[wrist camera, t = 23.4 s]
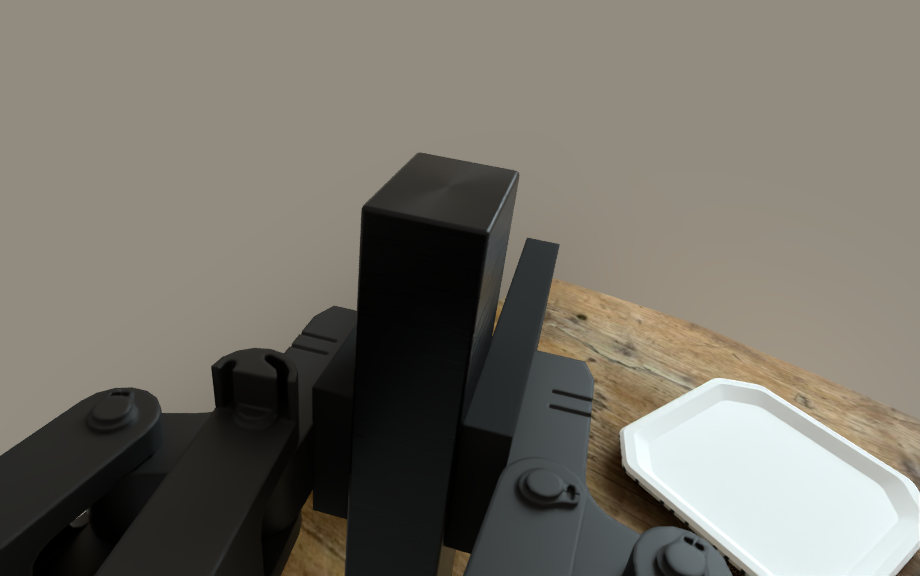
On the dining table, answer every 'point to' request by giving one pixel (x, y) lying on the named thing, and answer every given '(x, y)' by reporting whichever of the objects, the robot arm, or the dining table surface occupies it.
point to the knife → (420, 354)
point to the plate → (772, 485)
